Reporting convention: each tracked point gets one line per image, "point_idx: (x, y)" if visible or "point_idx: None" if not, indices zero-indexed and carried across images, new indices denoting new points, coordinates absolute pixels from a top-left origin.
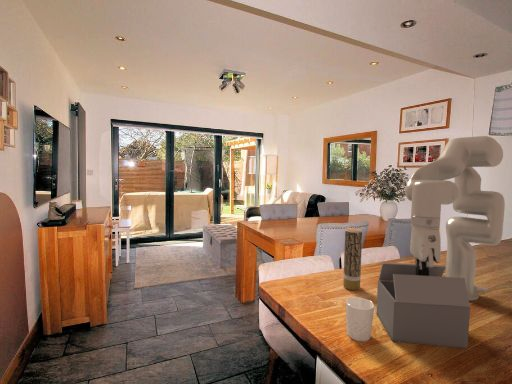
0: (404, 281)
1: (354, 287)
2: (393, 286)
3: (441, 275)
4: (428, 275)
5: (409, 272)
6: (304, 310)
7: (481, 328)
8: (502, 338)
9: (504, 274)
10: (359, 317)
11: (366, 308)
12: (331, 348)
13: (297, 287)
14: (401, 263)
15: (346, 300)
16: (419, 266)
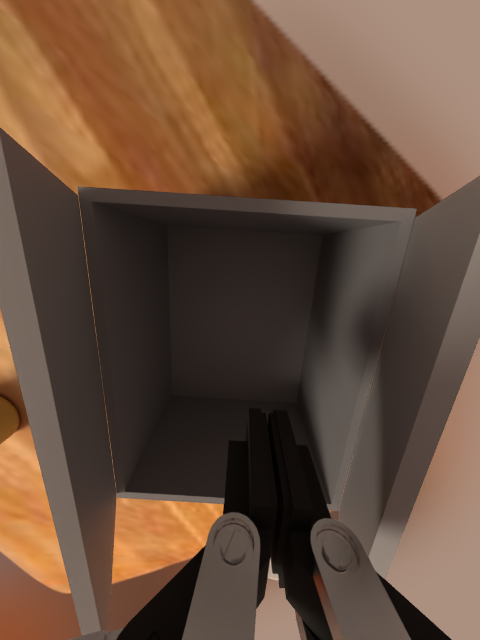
0: None
1: (11, 419)
2: (130, 425)
3: (56, 185)
4: (296, 455)
5: (91, 438)
6: (181, 534)
7: (209, 82)
8: (272, 44)
9: None
10: None
11: None
12: None
13: (56, 537)
14: (69, 581)
15: (274, 579)
16: (308, 632)
